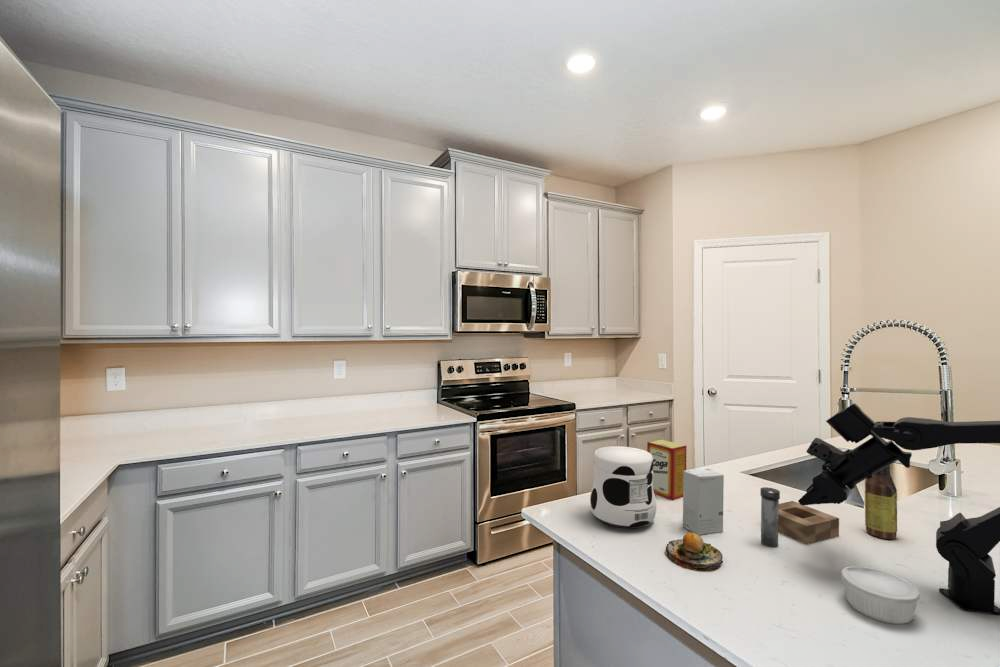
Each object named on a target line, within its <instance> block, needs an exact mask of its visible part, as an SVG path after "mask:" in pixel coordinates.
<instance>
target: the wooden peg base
mask: <svg viewBox="0 0 1000 667" xmlns="http://www.w3.org/2000/svg"><path fill="white" fill-rule="evenodd" d="M778 534H782V535H784V536H786V537H789V538H791V539H793V540H794V541H797V542H800V543H802V544H804V545H805V546H807V545H810V544H814V543H818V542H822V541H825V539H826V540H830V539H833V537H834V538H837V537H839V536H840V518H839V517H837V516H834V515H831V514H829V513H826V512H824V511H821V510H818V509H816V508H812V507H810V506H808V505H801V504H800V503H799V502H798V501H797V502H796V501H795V500H790V501H787V502H786V501H785V502H781V503H779V520H778ZM836 536H837V537H836ZM829 538H830V539H829Z"/></svg>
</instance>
